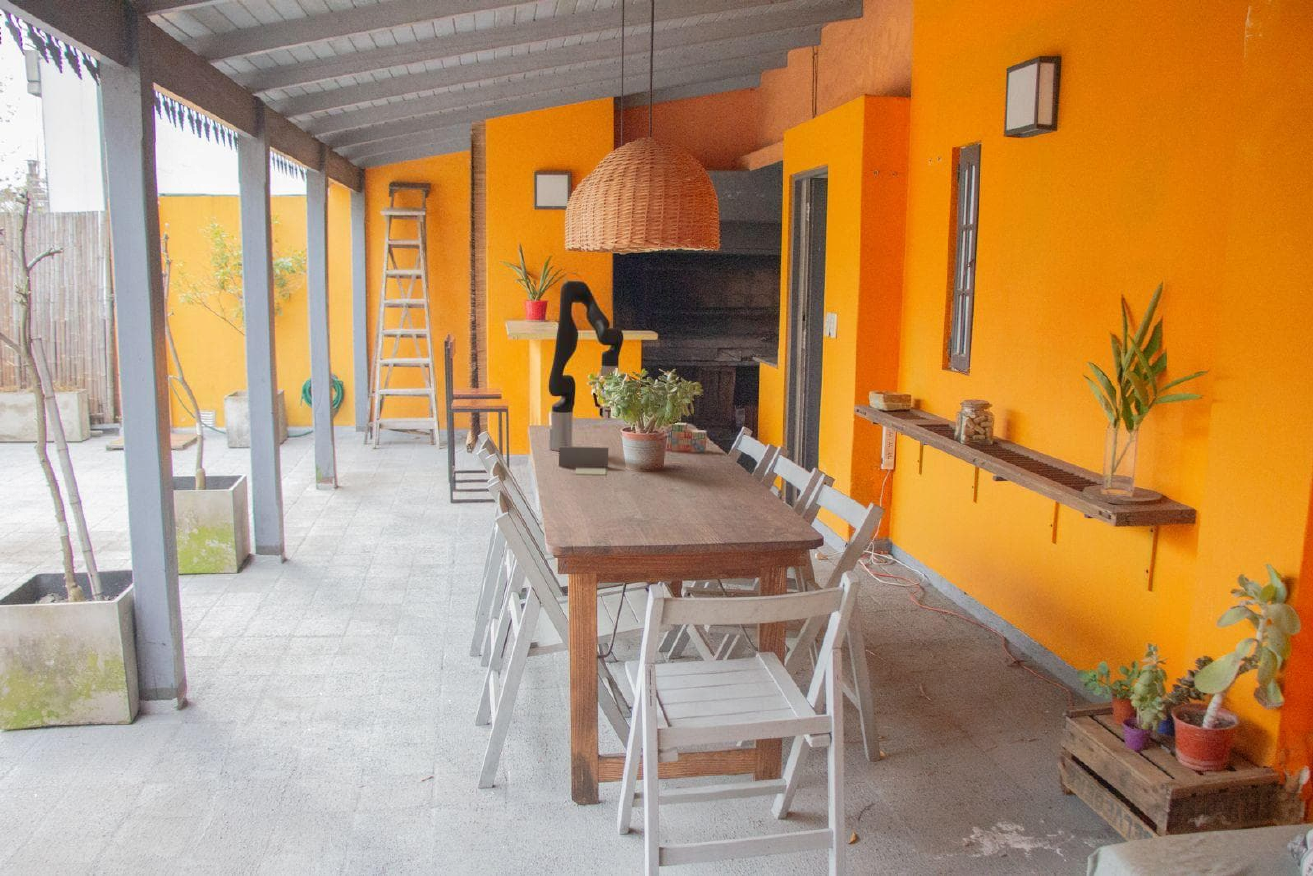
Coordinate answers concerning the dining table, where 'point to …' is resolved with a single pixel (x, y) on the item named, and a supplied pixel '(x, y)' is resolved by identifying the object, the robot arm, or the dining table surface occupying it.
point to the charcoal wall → (583, 456)
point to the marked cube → (607, 413)
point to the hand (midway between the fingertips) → (608, 417)
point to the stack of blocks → (685, 438)
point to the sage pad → (590, 471)
